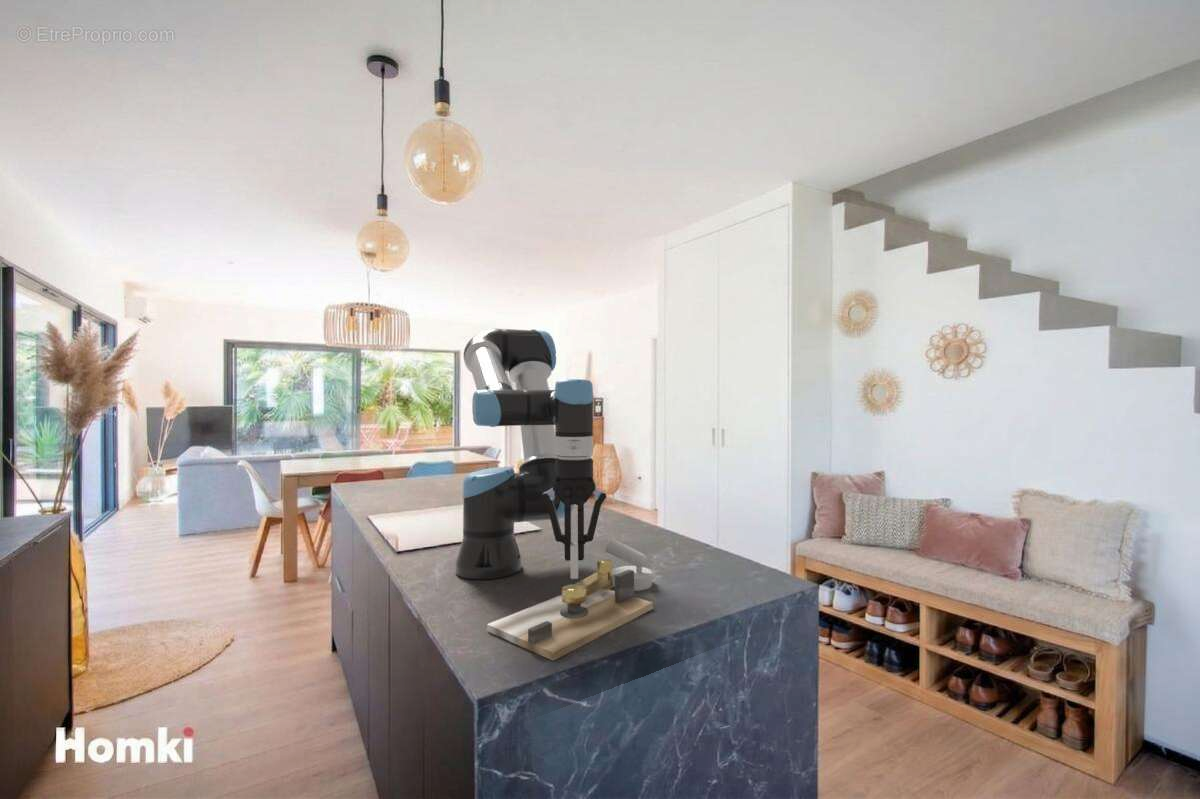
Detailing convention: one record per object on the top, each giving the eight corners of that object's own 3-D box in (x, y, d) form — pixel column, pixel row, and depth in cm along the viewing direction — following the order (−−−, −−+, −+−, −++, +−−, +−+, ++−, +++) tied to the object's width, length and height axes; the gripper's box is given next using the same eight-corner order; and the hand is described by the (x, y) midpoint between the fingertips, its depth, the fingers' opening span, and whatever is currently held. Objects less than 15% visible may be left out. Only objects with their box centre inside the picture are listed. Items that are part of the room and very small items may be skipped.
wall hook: (608, 533, 118) (653, 535, 116) (609, 575, 118) (653, 578, 116) (601, 543, 109) (649, 545, 107) (601, 589, 109) (649, 592, 107)
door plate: (487, 631, 89) (486, 594, 89) (589, 589, 109) (589, 559, 109) (553, 660, 79) (552, 619, 79) (653, 608, 98) (652, 575, 98)
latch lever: (577, 612, 91) (577, 583, 91) (556, 607, 93) (556, 578, 93) (618, 586, 103) (618, 560, 103) (599, 582, 106) (599, 557, 106)
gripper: (539, 459, 100) (539, 583, 100) (607, 459, 100) (608, 582, 100) (542, 455, 107) (543, 570, 107) (606, 455, 108) (606, 569, 108)
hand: (574, 576), depth 104 cm, fingers closed
